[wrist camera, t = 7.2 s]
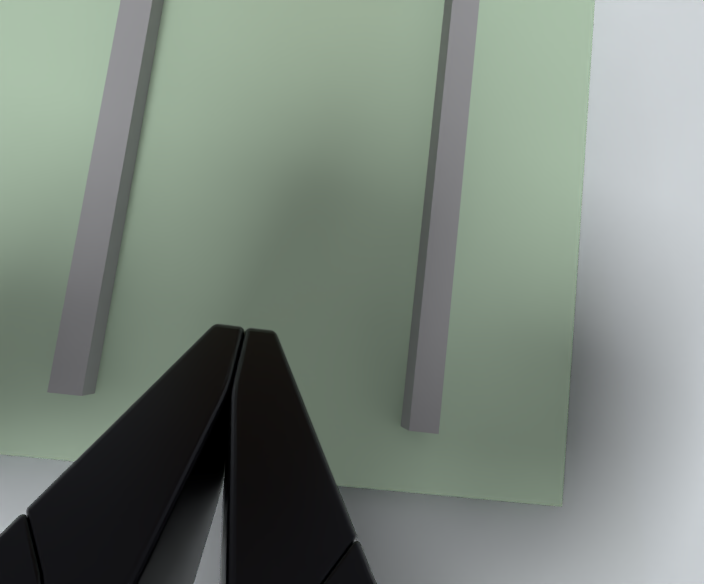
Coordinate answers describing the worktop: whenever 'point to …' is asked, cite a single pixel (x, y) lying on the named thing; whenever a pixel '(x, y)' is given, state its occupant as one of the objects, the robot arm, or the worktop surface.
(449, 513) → the worktop surface
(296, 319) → the pitch
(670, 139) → the worktop surface
